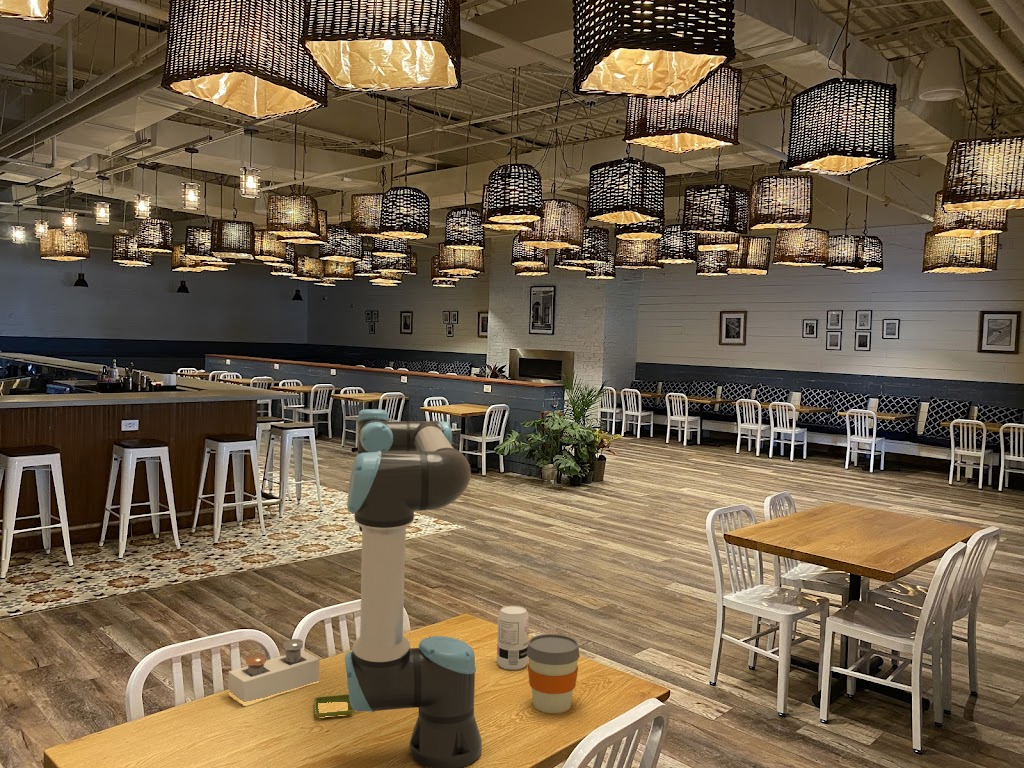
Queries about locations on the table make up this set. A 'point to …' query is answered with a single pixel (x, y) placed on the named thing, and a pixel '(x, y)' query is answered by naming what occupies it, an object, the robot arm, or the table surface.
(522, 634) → the supplement can
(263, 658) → the terracotta plug
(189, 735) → the table surface
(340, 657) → the table surface
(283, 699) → the table surface
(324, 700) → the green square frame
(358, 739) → the table surface
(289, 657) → the grey plug
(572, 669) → the reusable coffee cup
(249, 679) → the socket block
